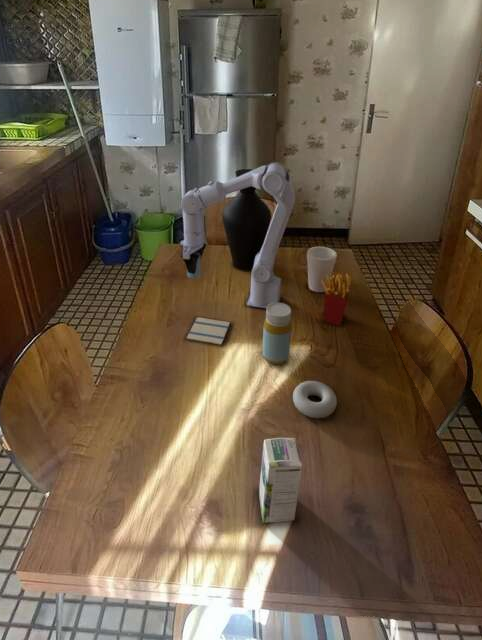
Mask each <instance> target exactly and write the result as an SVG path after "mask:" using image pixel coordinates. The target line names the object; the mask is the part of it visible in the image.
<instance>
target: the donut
mask: <svg viewBox="0 0 482 640" xmlns="http://www.w3.org/2000/svg"><path fill="white" fill-rule="evenodd" d="M311 396H312V397H313V396H314V397H317V398H319V399H320V400H321V401H318V402H317V401H312V400H311V399H309V398H308V397H311ZM292 401H293V404H294V407H295V408H296V409H297V410H298V412H300V413H301V414H302V415H304V416H305V417H309V418H311V419H312V418H313V419H325V418H327V417H329V416H330V415H332V414H333V413H335V410H336V407H337V406H338V405H337V404H338V402H337V396H336V394H335V392H334V390H333V389H332V388H331V387H330V386H328V385H327V384H326V383H323V382H321V381H316V380H305V381H303V382H300V383H299V384H298V385H297V386H296V387H295V388H294V390H293V393H292Z"/></svg>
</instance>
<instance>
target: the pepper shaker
mask: <svg viewBox="0 0 482 640" xmlns="http://www.w3.org/2000/svg"><path fill="white" fill-rule="evenodd" d="M194 253H195V254H199V253H198V252H197V251H195V252H194ZM199 255H200V254H199ZM186 273H187V275H186V276H187V277H188V278H189V279H195V280H196V279H198V278H201V277H202V259H201V255H200V256H199V258H198V260H197V265H196V272H195V274H192V273H188V270H187V269H186Z"/></svg>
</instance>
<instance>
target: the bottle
mask: <svg viewBox="0 0 482 640" xmlns="http://www.w3.org/2000/svg"><path fill="white" fill-rule="evenodd" d="M265 309H266V310H265V319H264V322H263V327H262V328H263V331H262V345H261V346H262V347H261V355H262V358H263V360H264V361H265V362H267V363H269V364H272V365H282V364H283V363H285V362H287V361H288V360H289V357H290V356H289V355H290V346H291V336H292V322H291V317H292V308H291V307H290V306H289V305H288V304H286V303H284V302H279V303H271V304H269V305H268V306H267V308H265Z"/></svg>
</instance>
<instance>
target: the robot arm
mask: <svg viewBox="0 0 482 640" xmlns="http://www.w3.org/2000/svg"><path fill="white" fill-rule="evenodd" d="M291 179H292V178H291V176H290V172H289V171H288V169H287V168H286V167H285V165H283V164H282V163H280V162H271V163H269V164H266V165H261V166H259V167H256V168H254V169H253V170H252V171H250V172H248V173H245V174H243V175H241V176H239V177H233V178H232V179H230V180H228V181H226V182H221V181H219V180H218V181H215V182H214V181H213V180H210V181H208V182H207V184H206V185H205V186H201V187H199V188H198V187H195V188H193V189H190V190H189V191H187V192H186V193H185V195H184V196H183V197H182V198H181V202H180V208H181V210H182V212H183V239H182V240H181V241H180V245H181V246H183V250H182V251H181V252H180V257H181V259H182V260H183V262H184V264H185V267H186V271H187V270H188V273H192V274H195V272H196V265H197V260H198V258H199V256H200V255H201V260H202V259H203V254H204V252H205V249H206V247H207V244H206V243H205V242H204V239H205V238H204V237H205V236H204V230H203V229H204V228H203V227H204V226H203V224H204V223H203V208H206V207H210V206H212V205H215V204H217V203H220V202H222V201H225V200H226V198H227V196H228V195H229V194H232V193H236V192H238V191H240V190H241V189H244V188H247V187H250V186H253V187H255V188H256V190H260V191H261V190H262V188H263V189H264V191H265V192H266V193H268V194H269V195H270V196H272V197H273V199H274V200H275V202H276V206H275V209H274V212H273V215H272V216H271V220H270V224H269V227H268V231H267V234H266V237H265V240H264V243H263V246H262V248H261V250H260V252H259V253H258V254H257V255H256V256H255V262H254V266H253V269H251V275H250V295H249V297H248V300H247V302H246V306H248V307H254V308H261V309H267V306H268V305H269V304H271V303H280V301H281V296H282V295H281V290H282V278H281V277H278V276H276V275H275V273H274V265H275V260H276V255H277V253H278V250H279V248H280V247H279V246H280V244H281V242H282V239H283V236H284V233H285V230H286V228H287V225H288V223H289V219H290V217H291V214H292V211H293V209H294V207H295V204H296V194H295V190H294V186H293V183H292V180H291ZM195 251H197V252H198V253H199V254H200V255H199V254H195V253H194V252H195Z"/></svg>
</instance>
